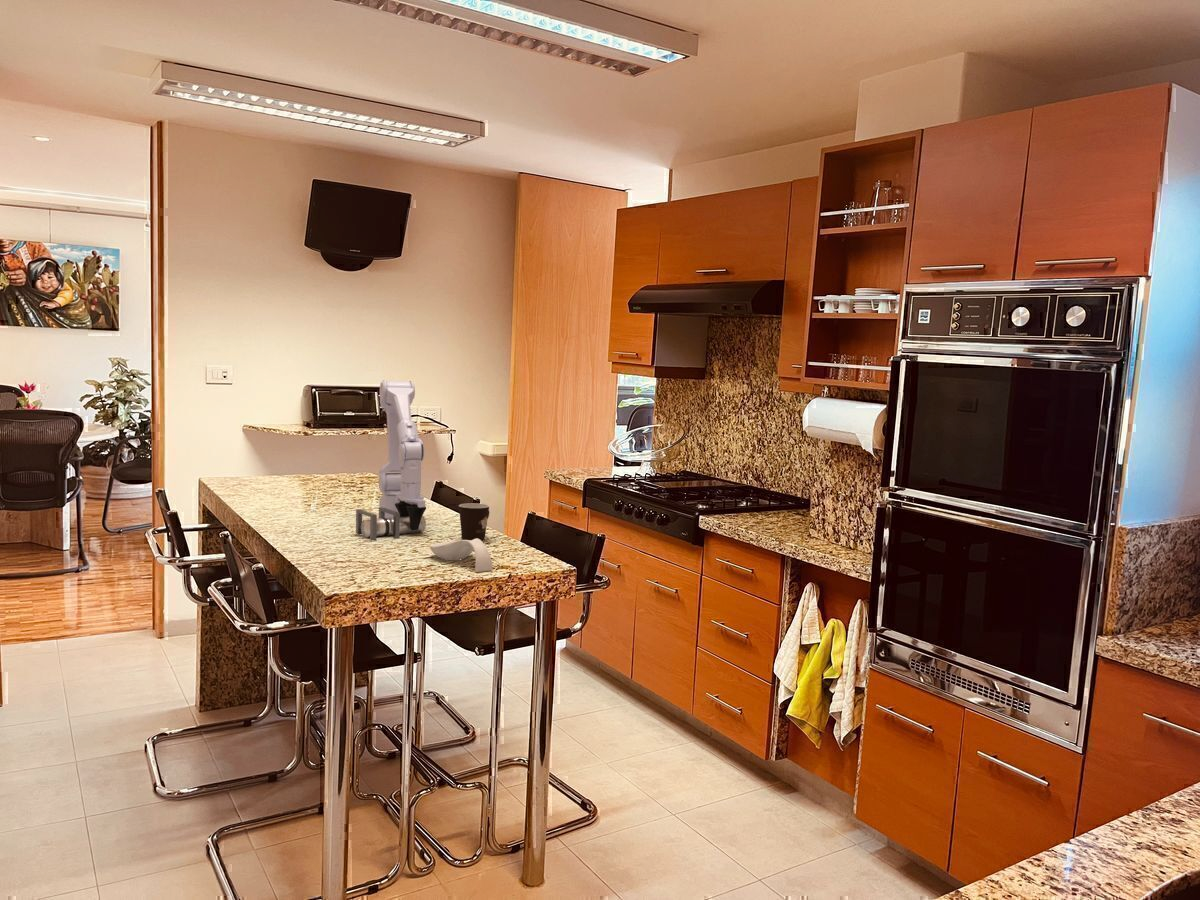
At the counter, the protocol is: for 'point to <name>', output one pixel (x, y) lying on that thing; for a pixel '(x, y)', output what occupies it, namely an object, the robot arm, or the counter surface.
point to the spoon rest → (464, 552)
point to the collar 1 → (372, 522)
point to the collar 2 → (395, 519)
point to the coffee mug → (473, 520)
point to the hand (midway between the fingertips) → (410, 528)
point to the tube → (391, 526)
